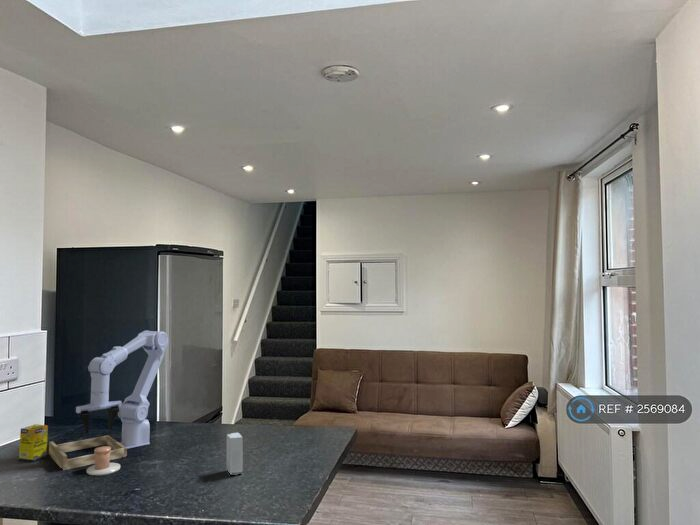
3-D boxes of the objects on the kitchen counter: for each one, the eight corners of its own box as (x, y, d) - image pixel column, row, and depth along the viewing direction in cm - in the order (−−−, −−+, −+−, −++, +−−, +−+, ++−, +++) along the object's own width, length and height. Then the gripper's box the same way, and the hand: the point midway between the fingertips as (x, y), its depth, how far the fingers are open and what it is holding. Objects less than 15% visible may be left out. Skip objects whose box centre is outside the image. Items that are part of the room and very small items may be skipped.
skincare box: (243, 474, 158) (244, 436, 159) (229, 476, 156) (230, 438, 157) (238, 468, 164) (239, 431, 165) (225, 470, 162) (226, 433, 163)
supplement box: (32, 462, 166) (34, 429, 167) (18, 460, 168) (19, 428, 168) (47, 456, 172) (48, 425, 173) (32, 455, 173) (34, 423, 174)
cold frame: (108, 443, 188) (108, 431, 188) (126, 456, 173) (127, 443, 174) (48, 454, 174) (49, 441, 174) (63, 470, 160) (63, 456, 160)
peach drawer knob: (107, 463, 165) (107, 445, 165) (112, 467, 161) (113, 448, 162) (91, 467, 161) (92, 448, 162) (96, 471, 158) (97, 452, 158)
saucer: (114, 462, 168) (114, 460, 168) (124, 470, 160) (124, 468, 160) (82, 469, 161) (82, 467, 161) (91, 478, 154) (91, 476, 154)
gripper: (80, 396, 166) (78, 436, 165) (125, 390, 176) (123, 428, 175) (74, 392, 171) (73, 432, 170) (118, 387, 181) (116, 424, 180)
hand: (98, 430), depth 173 cm, fingers open, 7 cm apart
